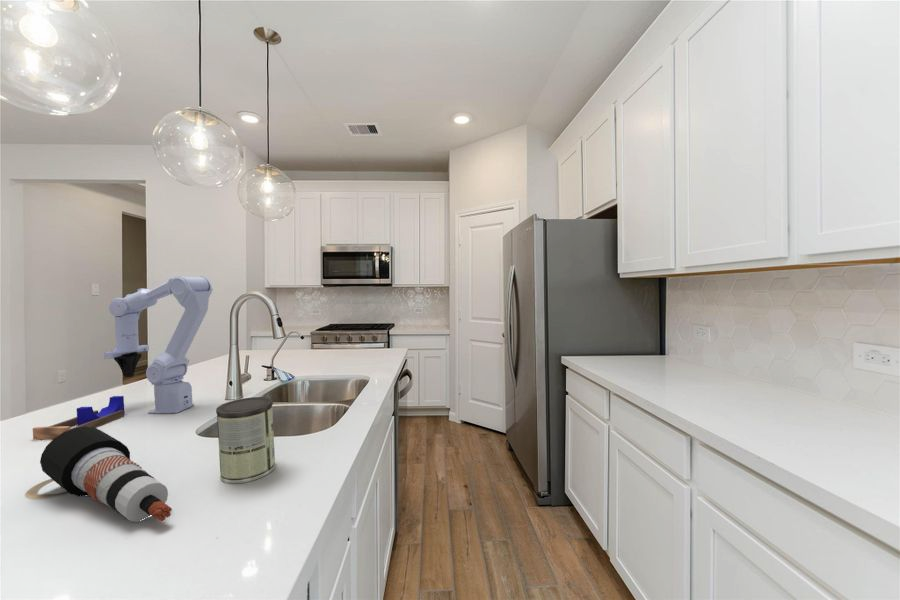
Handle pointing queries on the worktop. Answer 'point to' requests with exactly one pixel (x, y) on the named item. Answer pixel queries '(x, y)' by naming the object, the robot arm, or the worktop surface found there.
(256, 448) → the coffee can
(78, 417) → the cable clip
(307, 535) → the worktop surface
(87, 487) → the cable
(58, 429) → the brown wooden piece
